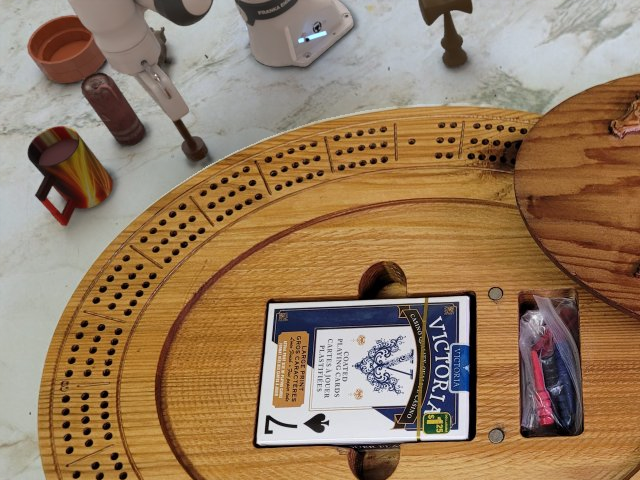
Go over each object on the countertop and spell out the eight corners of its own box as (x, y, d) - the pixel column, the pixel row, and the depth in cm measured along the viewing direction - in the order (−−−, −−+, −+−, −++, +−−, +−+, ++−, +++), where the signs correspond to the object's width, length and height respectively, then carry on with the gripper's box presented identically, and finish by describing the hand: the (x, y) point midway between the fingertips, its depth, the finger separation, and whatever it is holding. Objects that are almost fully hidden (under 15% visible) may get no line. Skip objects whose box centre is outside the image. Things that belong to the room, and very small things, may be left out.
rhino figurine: (178, 38, 178) (165, 14, 173) (167, 84, 172) (154, 62, 166) (160, 39, 178) (146, 16, 173) (148, 86, 172) (134, 63, 167)
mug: (65, 231, 156) (27, 190, 146) (63, 177, 163) (27, 134, 152) (115, 217, 157) (81, 175, 146) (111, 164, 163) (78, 120, 152)
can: (140, 148, 164) (104, 96, 152) (112, 145, 165) (73, 92, 153) (152, 125, 167) (117, 72, 154) (124, 122, 168) (87, 69, 155)
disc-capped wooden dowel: (201, 140, 162) (163, 79, 148) (212, 153, 161) (175, 92, 146) (182, 153, 162) (142, 92, 147) (193, 165, 160) (154, 105, 145)
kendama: (482, 62, 167) (470, -24, 150) (437, 77, 167) (420, -8, 149) (472, 43, 170) (459, -44, 152) (428, 58, 169) (410, -29, 151)
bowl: (91, 28, 182) (76, 5, 176) (120, 61, 176) (106, 38, 171) (33, 61, 178) (16, 38, 173) (61, 96, 173) (44, 74, 167)
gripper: (176, 70, 135) (211, 129, 147) (119, 8, 142) (157, 69, 155) (143, 90, 133) (181, 149, 146) (87, 27, 141) (128, 87, 153)
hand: (169, 107), depth 150 cm, fingers closed on disc-capped wooden dowel, 2 cm apart
